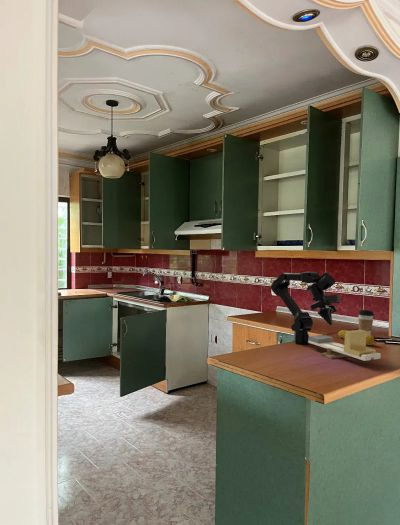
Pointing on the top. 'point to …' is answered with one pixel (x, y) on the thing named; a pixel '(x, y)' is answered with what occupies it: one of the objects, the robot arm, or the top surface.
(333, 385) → the top surface
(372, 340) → the food
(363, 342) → the block
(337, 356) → the beam stand
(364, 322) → the coffee cup
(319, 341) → the white twin rails
